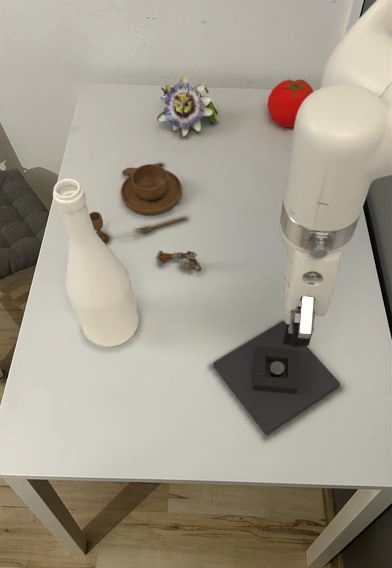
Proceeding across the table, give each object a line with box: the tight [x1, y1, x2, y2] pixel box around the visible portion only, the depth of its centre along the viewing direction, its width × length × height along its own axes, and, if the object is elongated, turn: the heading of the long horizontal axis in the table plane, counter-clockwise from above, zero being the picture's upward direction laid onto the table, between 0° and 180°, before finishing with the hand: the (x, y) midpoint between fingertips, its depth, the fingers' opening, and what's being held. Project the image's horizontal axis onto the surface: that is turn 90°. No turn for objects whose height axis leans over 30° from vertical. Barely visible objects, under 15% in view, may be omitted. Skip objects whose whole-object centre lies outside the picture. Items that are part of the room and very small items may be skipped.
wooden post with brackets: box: [155, 249, 202, 272], centre depth 89 cm, size 2×8×4 cm, turn 69°
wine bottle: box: [52, 178, 140, 348], centre depth 71 cm, size 10×10×30 cm
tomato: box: [266, 78, 314, 128], centre depth 106 cm, size 9×10×8 cm
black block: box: [253, 347, 299, 394], centre depth 77 cm, size 7×7×2 cm
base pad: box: [213, 319, 341, 436], centre depth 77 cm, size 14×14×3 cm
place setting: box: [89, 162, 186, 244], centre depth 96 cm, size 18×20×6 cm
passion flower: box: [156, 74, 219, 138], centre depth 107 cm, size 11×11×12 cm
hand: (296, 311), depth 65 cm, fingers open, 9 cm apart
